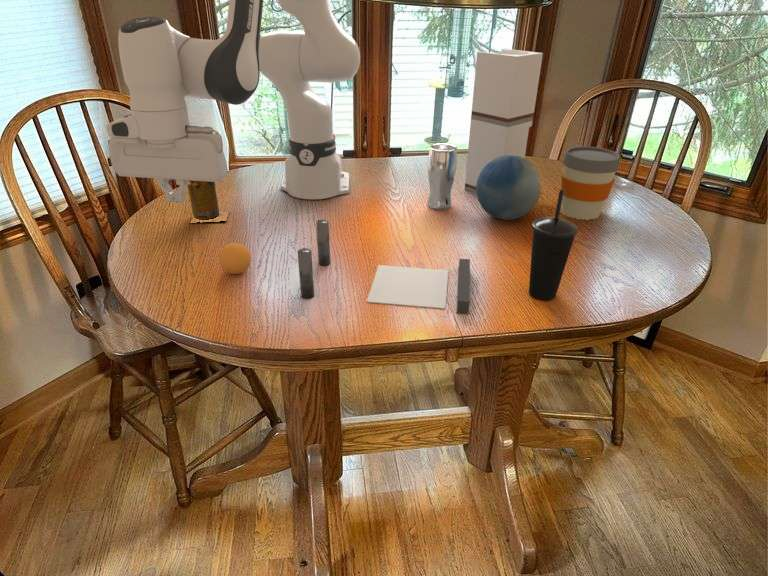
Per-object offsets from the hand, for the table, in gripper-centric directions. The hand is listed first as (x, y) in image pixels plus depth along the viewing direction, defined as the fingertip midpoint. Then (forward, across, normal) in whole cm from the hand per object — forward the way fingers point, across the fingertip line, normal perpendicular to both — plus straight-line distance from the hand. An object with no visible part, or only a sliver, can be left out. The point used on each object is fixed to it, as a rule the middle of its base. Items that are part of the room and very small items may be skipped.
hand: (176, 201), depth 97 cm
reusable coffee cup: (+14, -82, -43) cm, 94 cm away
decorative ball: (+14, -63, -37) cm, 75 cm away
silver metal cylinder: (+14, -47, -42) cm, 65 cm away
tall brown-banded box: (+14, -61, -55) cm, 84 cm away
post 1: (+14, -26, +6) cm, 30 cm away
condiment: (+14, +7, -26) cm, 30 cm away
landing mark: (+14, -44, 0) cm, 46 cm away
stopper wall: (+14, -54, 0) cm, 55 cm away
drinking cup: (+14, -68, -1) cm, 70 cm away
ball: (+11, -10, 0) cm, 15 cm away
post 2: (+14, -26, -7) cm, 30 cm away
